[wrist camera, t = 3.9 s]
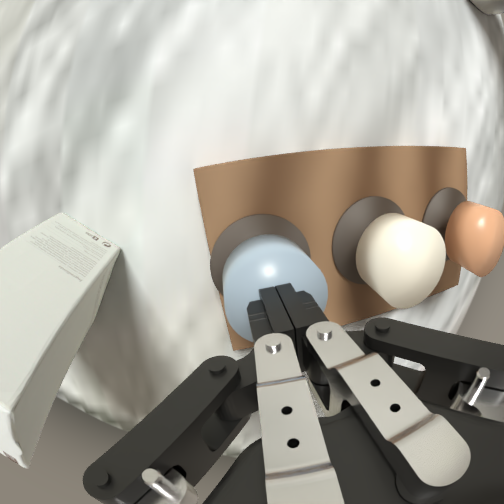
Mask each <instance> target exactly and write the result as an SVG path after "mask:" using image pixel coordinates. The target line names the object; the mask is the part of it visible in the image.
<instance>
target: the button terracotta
mask: <svg viewBox="0 0 504 504" xmlns="http://www.w3.org/2000/svg"><path fill="white" fill-rule="evenodd" d="M503 247H504V217H503V215H502V213H501V212H500V211H498V210H495V209H492V208H489V207H486V206H483V205H480V204H477V203H474V202H470V201H464V202H462V203H460V204H459V205H458V206H457V207H456V208H455V209H454V211H453V212H452V214H451V216H450V218H449V221H448V224H447V228H446V232H445V249H446V253H447V256H448V257H449V259H450V260H451V261H453V262H455V263H457V264H458V265H460V266H462V267H464V268H465V269H467V270H469V271H470V272H472V273H474V274H475V275H477V276H479V277H483V276H486V275H487V274H489V273H490V272H491V271H492V270H493V268H494V267H495V266H496V264H497V262H498V260H499V258H500V256H501V253H502V251H503Z"/></svg>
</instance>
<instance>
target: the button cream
mask: <svg viewBox="0 0 504 504" xmlns="http://www.w3.org/2000/svg"><path fill="white" fill-rule="evenodd" d="M445 259H446V249H445V243H444V240H443V238H442V236H441V234H440V233H439V232H438V231H437V230H436V229H435V228H433V227H431V226H429V225H427V224H424V223H422V222H419V221H417V220H414V219H412V218H409V217H407V216H404V215H402V214H398V213H388V214H384V215H382V216H380V217H378V218H376V219H375V220H374V221H373V222H372V223H370V224H369V226H368V227H367V228H366V229H365V231H364V232H363V234H362V236H361V238H360V240H359V243H358V246H357V251H356V266H357V270H358V273H359V275H360V277H361V278H362V279H363V280H364V281H365V282H366V283H367V284H368V285H369V286H370V287H371V288H372V289H373V290H375V291H376V292H377V293H378V294H379V295H380V296H381V297H382V298H383V299H384V300H385V301H386V302H387V303H389V304H390V305H391V306H393V307H395V308H399V309H406V308H410V307H413V306H415V305H417V304H419V303H420V302H422V301H423V300H424V299H425V298H427V297H428V296H429V294H430V293H431V292H432V291H433V290H434V288H435V287H436V285H437V283H438V282H439V280H440V277H441V275H442V272H443V269H444V265H445Z"/></svg>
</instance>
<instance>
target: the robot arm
mask: <svg viewBox="0 0 504 504" xmlns="http://www.w3.org/2000/svg"><path fill="white" fill-rule="evenodd" d="M470 1H471V2H472V3H473V4H474V5H475V6H476V7H477V8H478V9H480V10H481V11H482V12H484V13H485V14H487V15H491V14H495V15H497V14H501V13H504V0H470ZM259 297H260V300H256V301H251V302H249V304H248V306H247V313H248V319H249V324H250V329H251V334H252V338H253V343H254V348H253V350H252V351H251V352H250V353H249V354H248V355H247V356H245V357H244V358H242V359H239V360H237V361H235V360H234V359H233V358H231V357H228V356H215V357H212V358H209V359H207V360H206V361H204V362H203V363H202V364H201V365H200V366H199V367H198V368H197V369H196V370H195V371H194V372H193V373H192V374H191V375H190V376H189V377H188V378H187V379H185V380H184V381H183V382H182V383H181V384H180V385H179V386H178V387H177V388H176V389H175V390H174V391H173V392H172V393H171V394H170V395H169V396H168V397H167V398H166V399H164V400H163V401H162V402H161V403H160V404H159V405H158V406H157V407H156V408H155V409H154V410H153V411H152V412H151V413H149V414H148V415H147V416H146V417H145V418H144V419H143V420H142V421H141V422H140V423H138V424H137V425H136V426H135V427H134V428H133V429H132V430H131V431H130V432H128V433H127V434H126V435H125V436H124V437H123V438H122V439H121V440H119V441H118V442H117V443H116V444H115V445H114V446H112V447H111V448H110V449H109V450H108V451H107V452H106V453H104V454H103V455H102V456H101V457H100V458H98V459H97V460H96V461H95V462H94V463H92V464H91V465H90V466H89V467H88V468H87V470H86V471H85V473H84V476H83V485H84V488H85V490H86V491H87V492H88V494H90V495H91V496H92V497H94V498H95V499H97V500H98V501H100V502H101V503H103V504H197V502H198V494H197V491H196V489H195V488H194V486H195V485H196V484H197V483H198V482H199V481H200V480H201V478H202V477H203V476H204V475H205V474H206V473H207V472H208V470H209V469H210V468H211V467H212V466H213V465H214V463H215V462H216V461H217V460H218V459H219V457H220V456H221V455H222V454H223V453H224V451H225V450H226V449H227V448H228V446H229V445H230V444H231V443H232V441H233V440H234V439H235V437H236V436H237V435H238V434H239V432H240V431H241V430H242V428H243V427H244V426H245V424H246V423H247V422H248V420H249V419H250V416H251V413H253V412H256V411H258V410H259V416H260V426H261V435H262V438H260V439H258V440H257V441H255V442H254V443H252V444H251V445H249V446H248V447H247V448H246V449H245V450H244V451H243V452H242V453H241V454H240V455H239V456H238V458H237V459H236V460H235V462H234V463H233V465H232V466H231V467H230V469H229V470H228V471H227V473H226V474H225V476H224V477H223V478H222V480H221V481H220V482H219V483H218V485H217V486H216V488H215V489H214V490H213V491H212V492H211V494H210V495H209V496H208V498H207V499H206V500H205V501H204V502H203V504H504V345H500V344H496V343H491V342H486V341H482V340H477V339H472V338H468V337H464V336H459V335H455V334H451V333H446V332H442V331H438V330H434V329H429V328H425V327H421V326H417V325H413V324H409V323H405V322H401V321H397V320H393V319H389V318H375V319H372V320H370V321H369V322H367V323H366V325H365V328H364V331H344V329H343V328H342V327H341V326H340V325H338V324H336V323H334V322H329V320H328V319H327V317H326V316H325V314H324V313H323V311H322V310H321V308H320V307H319V306H318V304H317V302H315V299H314V298H313V297H312V295H311V294H309V293H307V292H305V291H304V290H303V291H298V292H296V291H295V289H294V288H293V286H292V284H291V283H286V284H282V285H277V286H275V287H274V286H272V287H267V288H262V289H259ZM395 356H396V357H399V358H403V359H406V360H410V361H413V362H417V363H420V364H422V365H423V366H424V367H425V369H426V370H425V371H418V370H414V369H411V368H407V367H404V366H401V365H397V364H394V363H393V362H394V358H395ZM304 371H306V372H307V374H308V383H307V380H306V377H305V376H302V373H301V372H304ZM308 384H309V386H308ZM309 387H310V389H311V391H312V392H313V394H314V396H315V398H316V400H317V402H318V403H319V405H320V407H321V409H322V411H323V413H324V415H325V417H319V418H318V417H317V413H316V410H315V407H314V403H313V400H312V396H311V393H310V390H309Z"/></svg>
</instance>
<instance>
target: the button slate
mask: <svg viewBox="0 0 504 504" xmlns="http://www.w3.org/2000/svg"><path fill="white" fill-rule="evenodd" d="M286 283H291V284H292V286H293V288H294V289H295V291H296V292H298V291H303V290H304V291H305V292H307V293H309V294H311V295H312V297H313V298H314V299H315V302H317V304H318V306H319V307H320V308H321V310H322V311H323V312H324V310H325V307H326V304H327V299H328V287H327V283H326V280H325V277H324V275H323V273H322V272H321V270H320V269H319V268H318V267H317V266H316V264H315V263H314V262H313V261H312V260H311V259H310V258H309V257H308V256H307V255H306V253H305V252H304V251H303V250H302V249H301V248H300V247H299V246H298V245H297V244H296V243H295V242H293V241H292V240H290V239H288V238H286V237H283V236H280V235H274V234H265V235H259V236H255V237H252V238H250V239H248V240H246V241H244V242H242V243H241V244H240V245H238V246H237V247H236V248H235V249H234V250H233V251H232V253H231V254H230V255H229V257H228V258H227V261H226V263H225V265H224V269H223V294H224V307H225V314H226V317H227V320H228V322H229V324H230V325H231V327H232V328H233V329H234V330H235V331H236V332H237V333H238V334H239V335H240V336H241V337H243V338H245V339H246V340H249V341H251V342H253V338H252V334H251V329H250V324H249V319H248V313H247V306H248V304H249V302H251V301H256V300H260V297H259V289H262V288H267V287H272V286H274V287H275V286H277V285H282V284H286Z"/></svg>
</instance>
